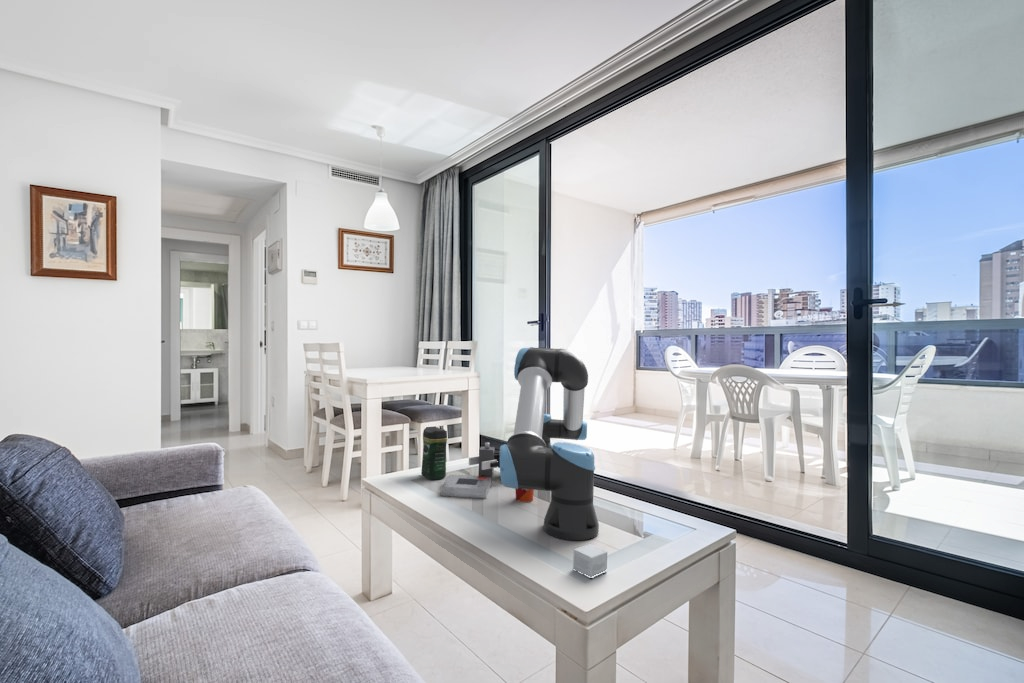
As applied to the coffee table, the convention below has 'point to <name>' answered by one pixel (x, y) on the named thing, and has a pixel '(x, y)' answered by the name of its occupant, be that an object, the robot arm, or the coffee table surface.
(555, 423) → the robot arm
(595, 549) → the small box
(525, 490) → the paper cup
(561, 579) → the coffee table surface
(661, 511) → the coffee table surface
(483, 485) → the socket plate
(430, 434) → the coffee jar
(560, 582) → the coffee table surface
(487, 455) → the plug
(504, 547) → the coffee table surface
